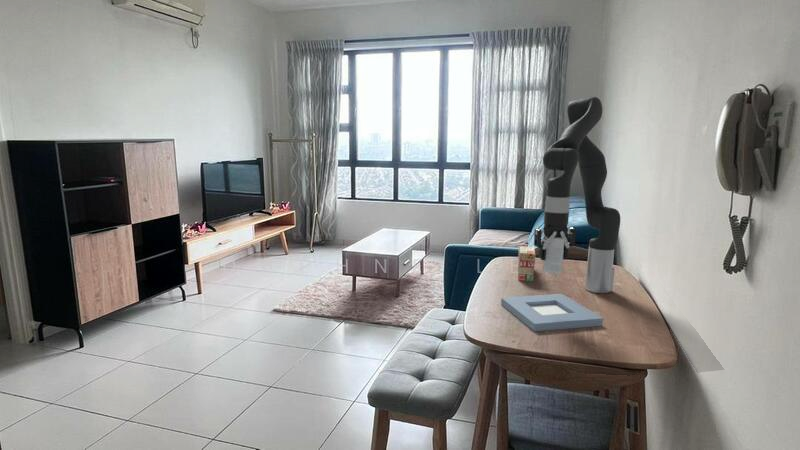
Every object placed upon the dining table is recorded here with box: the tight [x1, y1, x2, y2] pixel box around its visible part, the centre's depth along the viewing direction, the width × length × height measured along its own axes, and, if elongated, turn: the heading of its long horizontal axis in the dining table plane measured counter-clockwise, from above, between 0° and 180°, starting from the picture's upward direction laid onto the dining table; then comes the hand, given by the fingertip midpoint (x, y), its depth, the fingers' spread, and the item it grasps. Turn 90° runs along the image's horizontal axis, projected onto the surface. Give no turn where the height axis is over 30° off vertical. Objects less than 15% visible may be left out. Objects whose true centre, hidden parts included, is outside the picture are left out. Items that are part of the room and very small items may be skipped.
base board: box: [500, 293, 604, 332], centre depth 157 cm, size 24×24×2 cm
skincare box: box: [542, 237, 564, 275], centre depth 153 cm, size 6×4×12 cm
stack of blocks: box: [517, 245, 536, 282], centre depth 203 cm, size 21×6×12 cm, turn 166°
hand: (553, 259), depth 153 cm, fingers closed on skincare box, 7 cm apart
